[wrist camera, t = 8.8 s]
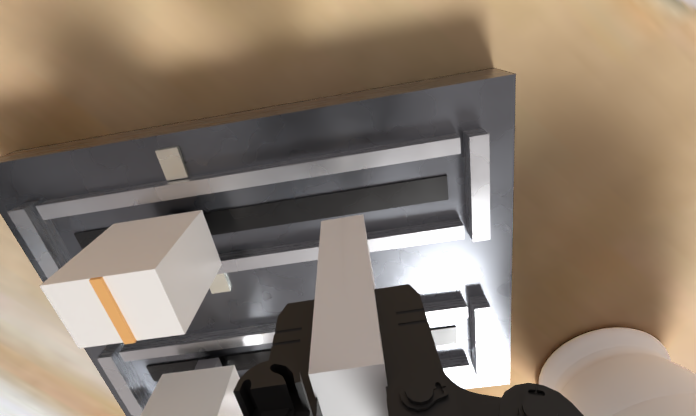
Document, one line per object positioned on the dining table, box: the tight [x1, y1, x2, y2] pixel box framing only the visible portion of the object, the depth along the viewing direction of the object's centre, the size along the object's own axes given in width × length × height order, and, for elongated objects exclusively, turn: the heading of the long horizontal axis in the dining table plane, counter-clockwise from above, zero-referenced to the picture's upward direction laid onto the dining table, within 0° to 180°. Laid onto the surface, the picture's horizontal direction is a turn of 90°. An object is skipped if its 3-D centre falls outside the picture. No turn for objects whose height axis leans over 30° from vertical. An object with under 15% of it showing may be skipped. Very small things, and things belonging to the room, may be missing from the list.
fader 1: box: [40, 210, 222, 348], centre depth 16 cm, size 4×3×6 cm
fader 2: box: [140, 357, 243, 416], centre depth 19 cm, size 4×3×6 cm
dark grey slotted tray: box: [0, 68, 516, 416], centre depth 21 cm, size 24×18×4 cm
